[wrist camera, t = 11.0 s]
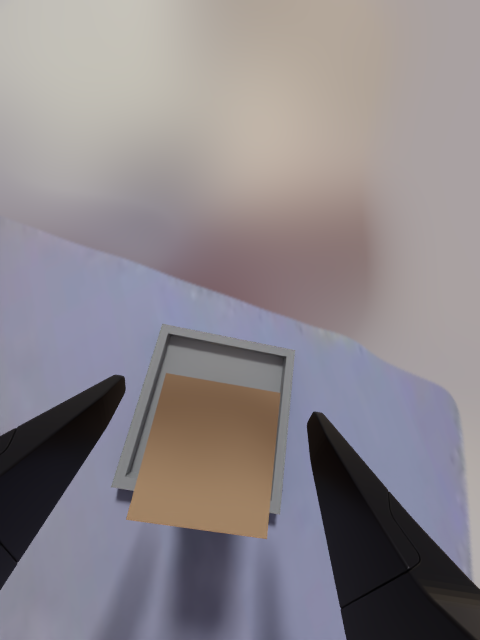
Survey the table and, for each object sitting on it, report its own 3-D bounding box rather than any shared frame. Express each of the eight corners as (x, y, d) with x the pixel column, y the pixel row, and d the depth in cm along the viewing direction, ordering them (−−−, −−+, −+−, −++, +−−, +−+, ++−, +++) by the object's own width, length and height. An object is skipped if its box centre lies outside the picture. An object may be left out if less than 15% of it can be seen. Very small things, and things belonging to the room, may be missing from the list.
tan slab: (248, 439, 19) (306, 544, 6) (172, 427, 18) (82, 513, 6) (255, 390, 20) (313, 398, 8) (184, 377, 20) (130, 366, 8)
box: (274, 504, 18) (279, 514, 17) (119, 478, 17) (111, 487, 16) (290, 352, 22) (295, 350, 21) (166, 327, 22) (162, 323, 20)
